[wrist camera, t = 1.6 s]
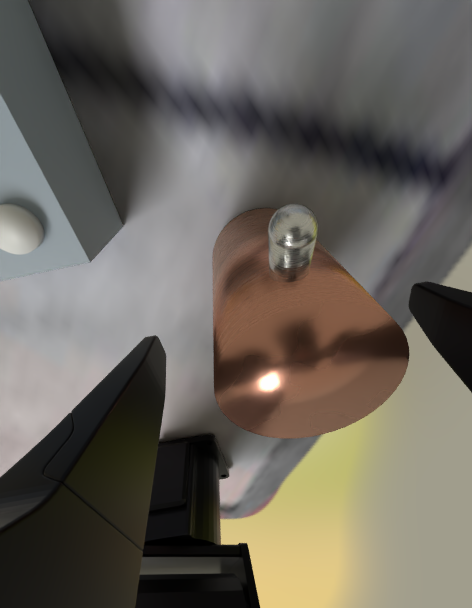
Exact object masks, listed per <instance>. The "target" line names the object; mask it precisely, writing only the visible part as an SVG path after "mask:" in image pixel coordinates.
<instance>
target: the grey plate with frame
mask: <svg viewBox="0 0 472 608" xmlns="http://www.w3.org/2000/svg"><path fill="white" fill-rule="evenodd" d="M122 227H123V224H122V221H121V219H120V217H119V214H118V212H117V210H116V207H115V205H114V203H113V200H112V198H111V196H110V193H109V191H108V188H107V186H106V184H105V181H104V179H103V177H102V174H101V172H100V170H99V167H98V165H97V162H96V160H95V158H94V155H93V153H92V151H91V148H90V146H89V144H88V141H87V139H86V137H85V134H84V132H83V129H82V127H81V125H80V122H79V120H78V118H77V115H76V113H75V111H74V108H73V106H72V104H71V101H70V99H69V96H68V94H67V92H66V89H65V87H64V85H63V82H62V80H61V78H60V75H59V73H58V70H57V68H56V66H55V63H54V61H53V59H52V56H51V54H50V52H49V49H48V47H47V45H46V42H45V40H44V37H43V35H42V33H41V30H40V28H39V26H38V23H37V21H36V19H35V16H34V14H33V11H32V9H31V7H30V4H29V2H28V0H0V281H5V280H9V279H14V278H19V277H24V276H28V275H33V274H38V273H42V272H47V271H52V270H57V269H61V268H66V267H71V266H76V265H80V264H85V263H90V262H91V261H92V260H93V259H94V258H95V257H96V256H97V254H98V253H99V252H100V251H101V250H102V249H103V248H104V247H105V246H106V245H107V244H108V242H109V241H110V240H111V239H112V238H113V237H114V236H115V235H116V234H117V233H118V232H119V230H120V229H121V228H122Z"/></svg>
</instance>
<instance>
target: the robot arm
mask: <svg viewBox="0 0 472 608" xmlns="http://www.w3.org/2000/svg"><path fill="white" fill-rule="evenodd" d="M409 309H410V311H411V313H412V314H413V316H414V318H415V319H416V321H417V322H418V324H419V325H420V327H421V328H422V330H423V331H424V333H425V334H426V336H427V337H428V339H429V340H430V342H431V343H432V345H433V346H434V347H435V348H436V350H437V351H438V352H439V353H440V355H441V356H442V357H443V358H444V359H445V361H446V362H447V363H448V364H449V366H450V367H451V368H452V369H453V370H454V372H455V373H456V374H457V375H458V376H459V377H460V379H461V380H462V381H463V382H464V384H465V385H466V386H467V387H468V388H469V390H470V391H471V392H472V292H467V291H464V290H459V289H456V288H451V287H447V286H443V285H439V284H435V283H431V282H421V283H416V284H414V285H413V286H412V289H411V294H410V299H409ZM165 388H166V354H165V351H164V349H163V346H162V344H161V342H160V340H159V338H158V337H157V336H156V335H155V336H150V337H145V338H144V339H143V340H142V341H141V342H140V343H139V344H138V345H137V346H136V347H135V348H134V349H133V350H132V351H131V352H130V353H129V354H128V355H127V356H126V357H125V358H124V359H123V360H122V361H121V362H120V363H119V364H118V365H117V366H116V367H115V368H114V369H113V370H112V371H111V372H110V373H109V374H108V375H107V376H106V377H105V378H104V379H103V380H102V381H101V382H100V383H99V384H98V385H97V386H96V387H95V388H94V389H93V390H92V391H91V392H90V393H89V394H88V395H87V396H86V397H85V398H84V399H83V400H82V401H81V402H80V403H79V404H78V405H77V406H76V407H75V408H74V409H73V410H72V413H69V414H68V415H67V416H66V417H65V418H64V419H63V420H62V421H61V422H60V423H59V424H58V425H57V426H56V427H55V428H54V429H53V430H52V431H51V432H50V433H49V434H48V435H47V436H46V437H45V438H44V439H42V440H41V441H40V442H39V443H38V444H37V445H36V446H35V447H34V448H33V449H31V450H30V451H29V452H28V453H27V454H26V455H25V456H24V457H23V458H22V459H20V460H19V461H18V462H17V463H16V464H15V465H14V466H13V467H11V468H10V469H9V470H8V471H7V472H6V473H5V474H4V475H2V476H1V477H0V608H260V605H259V600H258V595H257V590H256V585H255V580H254V575H253V570H252V564H251V559H250V555H249V549H248V545H247V543H239V544H238V545H221V536H220V492H219V479H225V478H228V477H229V469H228V467H227V464H226V462H225V460H224V457H223V455H222V452H221V450H220V447H219V445H218V443H217V440H216V438H215V436H213V435H204V436H198V437H193V438H188V439H182V440H177V441H171V442H166V443H160V444H158V443H159V437H160V430H161V423H162V416H163V409H164V402H165Z"/></svg>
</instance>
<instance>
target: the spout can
mask: <svg viewBox="0 0 472 608" xmlns="http://www.w3.org/2000/svg"><path fill="white" fill-rule="evenodd" d="M317 233H318V223H317V219H316V217H315V215H314V213H313V212H312V211H311V210H310V209H309V208H307V207H306V206H304V205H301V204H288V205H285V206H283V207H281V208H280V209H278V210H277V209H272V208H260V209H254V210H250V211H247V212H245V213H243V214H241V215H239V216H237V217H235V218H234V219H233V220H232V221H230V222H229V223H228V224H227V225H226V226H225V227H224V229H223V230H222V231H221V233H220V234H219V236H218V238H217V240H216V243H215V246H214V250H213V338H214V393H215V397H216V401H217V403H218V405H219V407H220V409H221V410H222V412H223V413H224V414H225V415H226V416H227V417H228V418H229V419H230V420H231V421H232V422H233V423H235V424H236V425H237V426H239V427H241V428H243V429H245V430H247V431H250V432H252V433H255V434H259V435H262V436H267V437H274V438H304V437H311V436H316V435H321V434H325V433H328V432H332V431H335V430H338V429H341V428H343V427H346V426H348V425H350V424H352V423H354V422H356V421H358V420H360V419H362V418H364V417H365V416H367V415H368V414H370V413H371V412H373V411H374V410H375V409H377V408H378V407H379V406H380V405H382V404H383V403H384V402H385V401H386V400H387V399H388V398H389V397H390V396H391V395H392V393H393V392H394V391H395V390H396V388H397V387H398V386H399V384H400V383H401V381H402V378H403V377H404V375H405V372H406V369H407V366H408V361H409V346H408V342H407V338H406V336H405V334H404V332H403V330H402V329H401V328H400V326H399V325H398V324H397V323H396V322H395V321H394V320H393V318H392V317H391V316H390V315H389V314H388V313H387V312H386V311H385V310H384V309H383V308H382V307H381V306H380V305H379V304H378V303H377V302H376V301H375V300H374V299H373V298H372V297H371V296H370V295H369V294H368V293H367V291H366V290H365V289H364V288H363V287H362V286H361V285H360V284H359V283H358V282H357V281H356V280H355V279H354V278H353V277H352V276H351V275H350V274H349V273H348V272H347V271H346V270H345V269H344V268H343V267H342V266H341V264H340V263H339V262H338V261H337V260H336V259H335V258H334V257H333V256H332V255H331V254H330V253H329V252H328V251H327V250H326V249H325V248H324V247H323V246H322V245H321V244H320V243H319V242H318V241H317V240H316V237H317Z"/></svg>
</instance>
